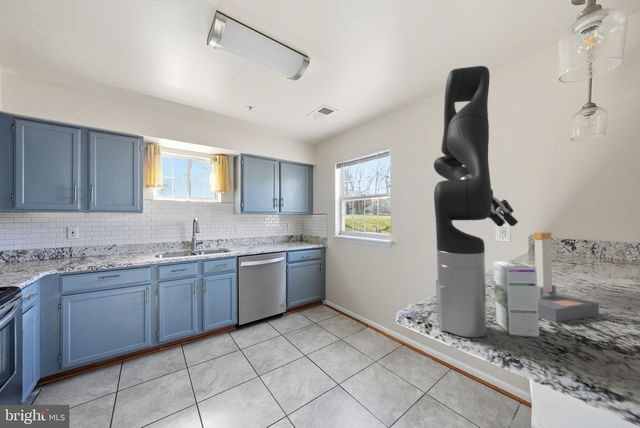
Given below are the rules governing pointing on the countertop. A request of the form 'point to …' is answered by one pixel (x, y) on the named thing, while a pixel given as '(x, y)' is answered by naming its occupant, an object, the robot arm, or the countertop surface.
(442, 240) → the robot arm
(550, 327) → the countertop surface
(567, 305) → the base
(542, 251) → the breaker handle
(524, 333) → the syrup box
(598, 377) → the countertop surface
